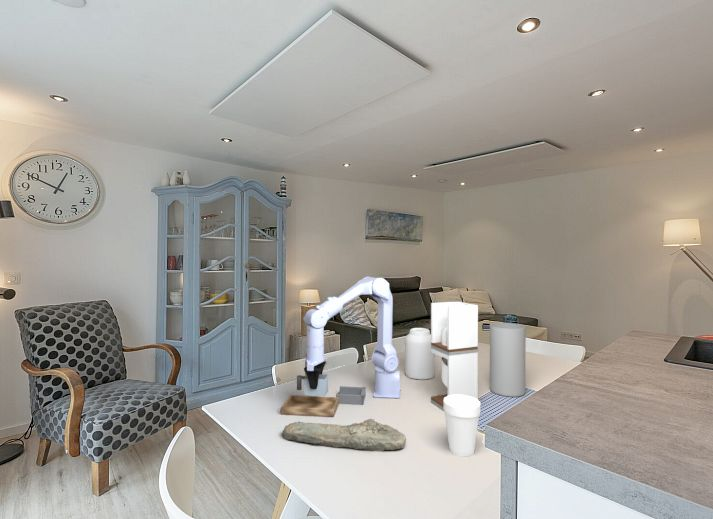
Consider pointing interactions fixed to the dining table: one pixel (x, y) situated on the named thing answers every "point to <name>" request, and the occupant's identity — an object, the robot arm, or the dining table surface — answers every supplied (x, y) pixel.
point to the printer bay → (352, 395)
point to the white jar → (419, 354)
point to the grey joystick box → (321, 388)
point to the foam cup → (461, 423)
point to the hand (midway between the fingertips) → (315, 385)
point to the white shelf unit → (456, 347)
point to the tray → (310, 406)
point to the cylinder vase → (507, 359)
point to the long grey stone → (347, 435)
